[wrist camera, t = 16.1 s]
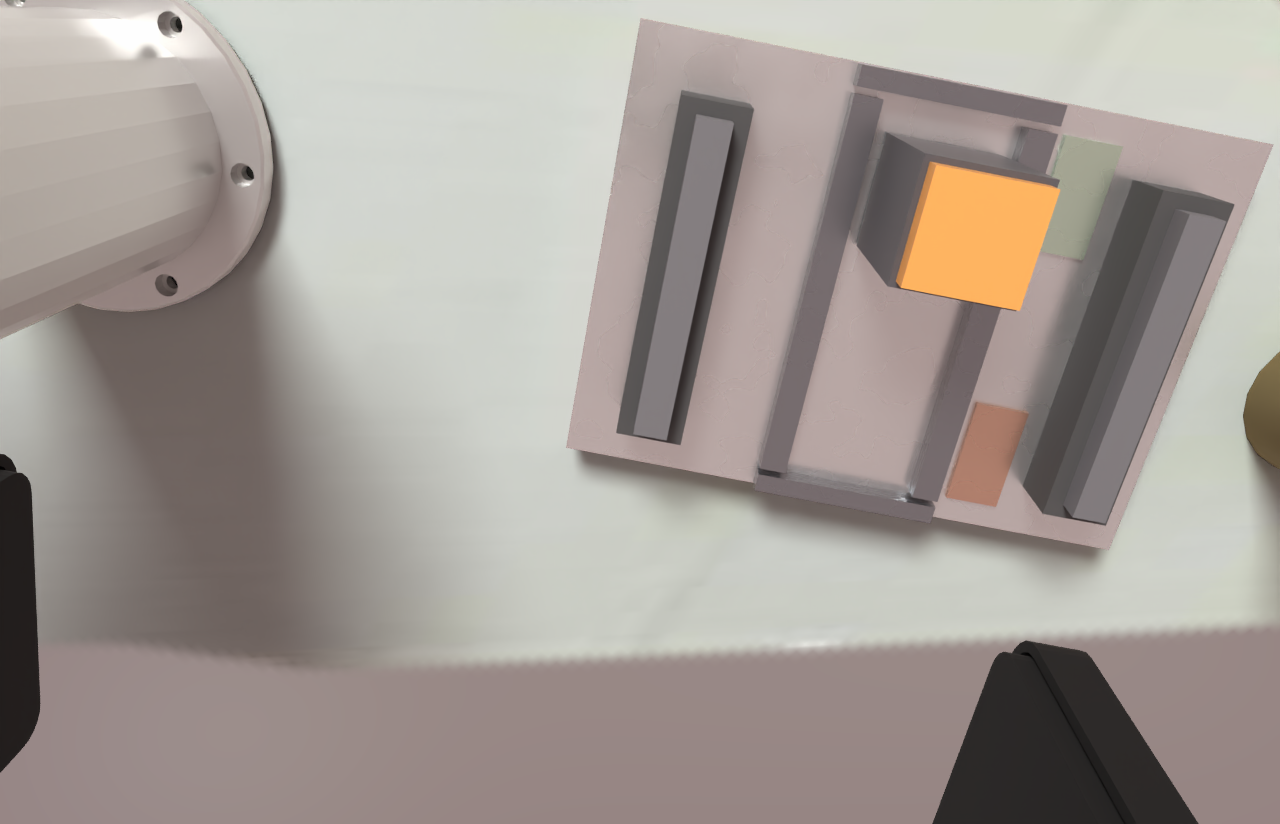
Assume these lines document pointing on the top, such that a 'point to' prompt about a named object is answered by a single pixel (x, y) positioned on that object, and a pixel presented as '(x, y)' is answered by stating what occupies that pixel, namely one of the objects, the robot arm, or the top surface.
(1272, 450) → the cork
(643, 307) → the long gray rail
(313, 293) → the top surface
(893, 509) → the panel
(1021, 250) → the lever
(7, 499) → the robot arm
